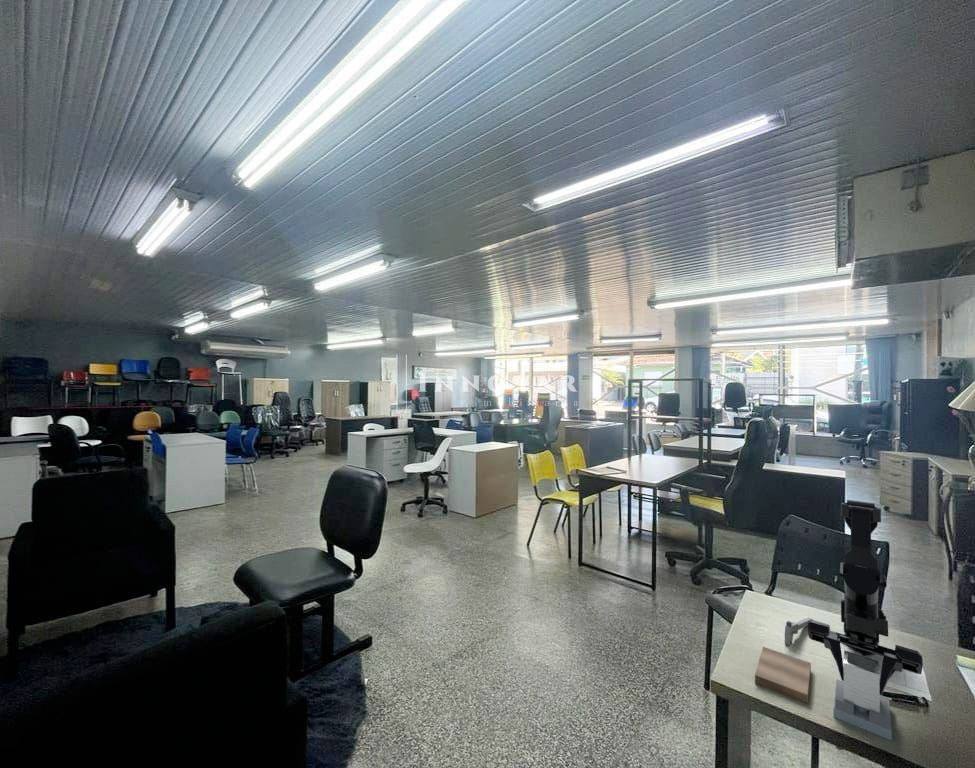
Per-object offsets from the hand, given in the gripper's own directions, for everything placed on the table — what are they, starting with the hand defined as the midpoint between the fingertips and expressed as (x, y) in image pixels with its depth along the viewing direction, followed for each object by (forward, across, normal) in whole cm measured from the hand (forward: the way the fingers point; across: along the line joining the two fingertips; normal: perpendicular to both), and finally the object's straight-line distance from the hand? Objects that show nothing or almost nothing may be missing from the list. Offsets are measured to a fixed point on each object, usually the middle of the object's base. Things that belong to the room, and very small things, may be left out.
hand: (861, 687), depth 88 cm
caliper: (-16, -13, +28) cm, 35 cm away
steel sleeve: (+1, 0, +3) cm, 4 cm away
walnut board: (+1, -14, +9) cm, 17 cm away
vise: (+3, 0, +8) cm, 8 cm away
